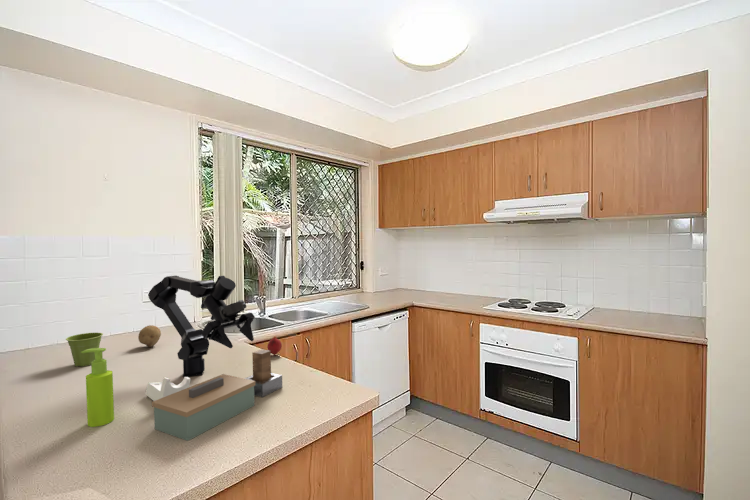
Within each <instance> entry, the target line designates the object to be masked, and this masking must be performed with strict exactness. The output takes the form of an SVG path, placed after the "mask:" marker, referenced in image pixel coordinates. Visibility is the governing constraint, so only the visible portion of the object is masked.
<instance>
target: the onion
mask: <svg viewBox="0 0 750 500" xmlns="http://www.w3.org/2000/svg"><path fill="white" fill-rule="evenodd" d="M266 348H267V350H269V351H271V355H274V356H276V355H277V354H279V353H280V352H281V350H282V342H281V340H280V339H278V338H277V336H276V335H273V337H272V338H271V339H270V340H269V341H268V343H267V347H266Z"/></svg>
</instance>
